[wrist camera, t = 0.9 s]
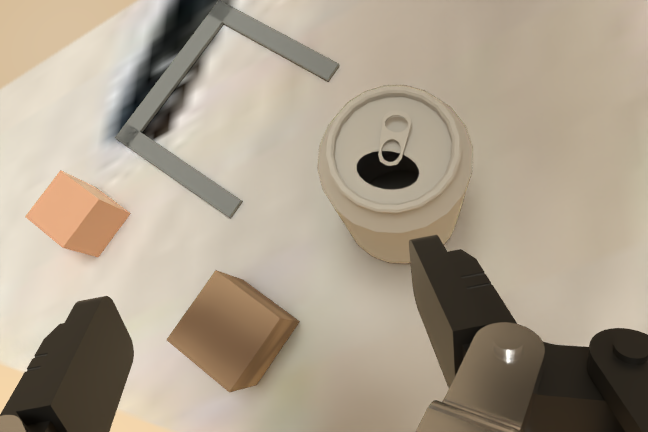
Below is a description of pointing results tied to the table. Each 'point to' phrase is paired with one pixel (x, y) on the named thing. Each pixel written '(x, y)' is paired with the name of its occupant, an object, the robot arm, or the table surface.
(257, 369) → the walnut block
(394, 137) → the can
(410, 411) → the table surface
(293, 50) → the frame
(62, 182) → the clay block
